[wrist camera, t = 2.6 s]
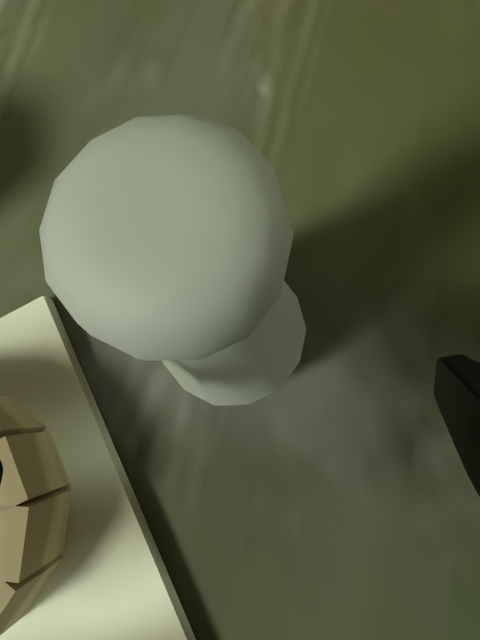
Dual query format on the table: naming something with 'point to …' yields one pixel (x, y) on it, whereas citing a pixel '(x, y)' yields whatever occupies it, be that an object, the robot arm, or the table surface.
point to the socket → (69, 504)
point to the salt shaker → (178, 254)
